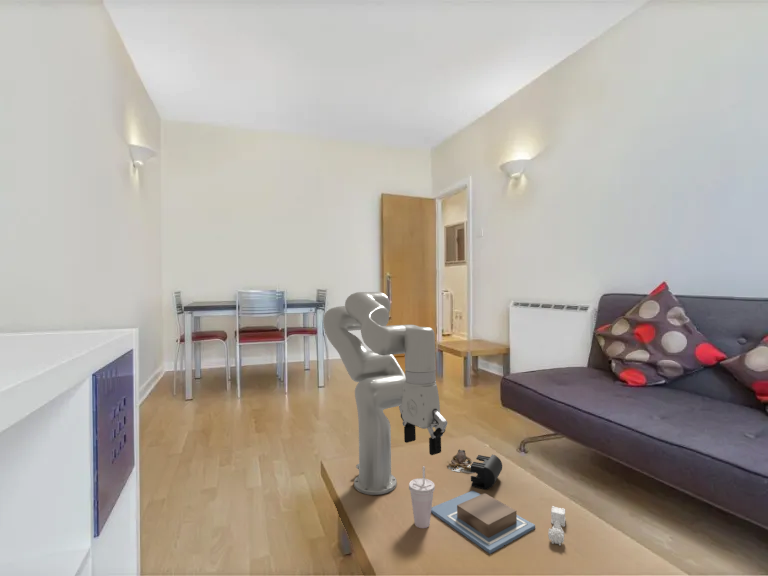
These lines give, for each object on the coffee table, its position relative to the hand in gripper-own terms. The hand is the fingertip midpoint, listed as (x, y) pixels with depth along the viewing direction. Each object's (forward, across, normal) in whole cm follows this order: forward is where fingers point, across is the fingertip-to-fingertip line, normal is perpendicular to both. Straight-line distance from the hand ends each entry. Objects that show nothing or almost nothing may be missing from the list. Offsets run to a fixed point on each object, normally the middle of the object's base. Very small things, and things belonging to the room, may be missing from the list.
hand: (422, 447), depth 96 cm
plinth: (+19, +8, +13) cm, 24 cm away
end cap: (+19, -6, +29) cm, 35 cm away
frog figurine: (+19, -19, +31) cm, 41 cm away
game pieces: (+20, +20, +24) cm, 37 cm away
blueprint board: (+19, +6, +13) cm, 24 cm away
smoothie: (+19, -1, 0) cm, 19 cm away
